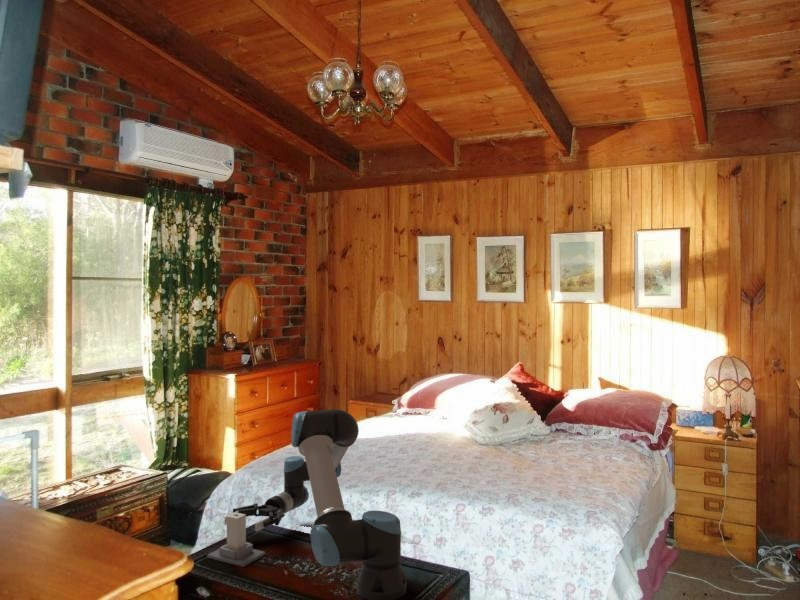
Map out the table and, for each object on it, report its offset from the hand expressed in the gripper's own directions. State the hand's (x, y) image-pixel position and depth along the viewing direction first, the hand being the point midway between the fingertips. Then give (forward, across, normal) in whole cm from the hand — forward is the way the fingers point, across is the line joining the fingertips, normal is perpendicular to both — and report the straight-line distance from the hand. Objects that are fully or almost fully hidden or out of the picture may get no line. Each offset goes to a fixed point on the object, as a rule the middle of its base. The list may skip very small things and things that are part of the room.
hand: (240, 524), depth 221 cm
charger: (+2, 0, -9) cm, 10 cm away
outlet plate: (+2, 0, -10) cm, 11 cm away
